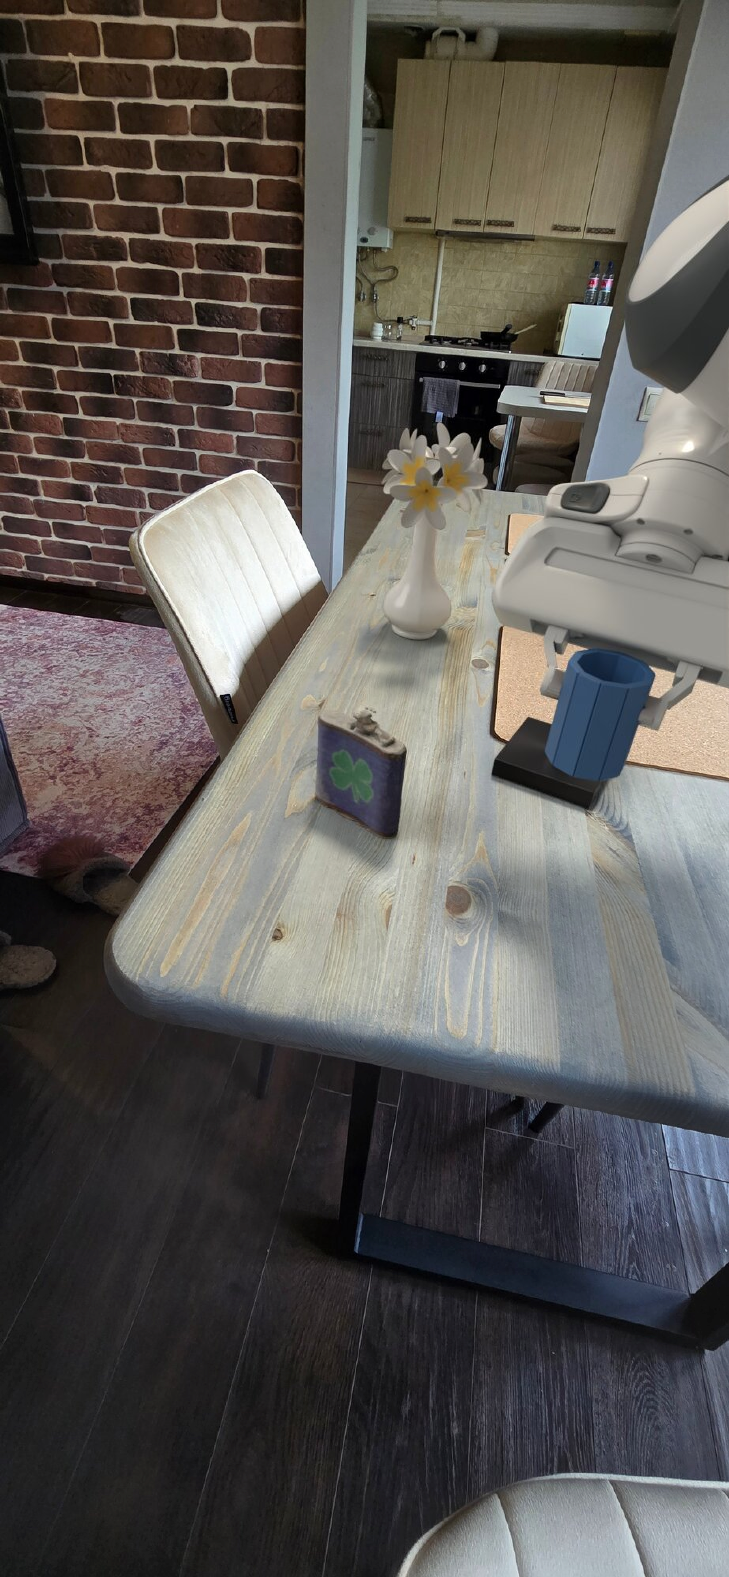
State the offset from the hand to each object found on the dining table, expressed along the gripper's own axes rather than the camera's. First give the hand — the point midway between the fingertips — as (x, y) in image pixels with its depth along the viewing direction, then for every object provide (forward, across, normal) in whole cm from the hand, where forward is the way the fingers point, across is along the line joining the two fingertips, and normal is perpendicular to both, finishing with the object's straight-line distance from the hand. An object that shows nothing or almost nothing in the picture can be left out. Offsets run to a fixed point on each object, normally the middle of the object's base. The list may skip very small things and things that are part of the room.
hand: (596, 710), depth 51 cm
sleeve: (+3, 0, -4) cm, 4 cm away
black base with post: (0, +5, -24) cm, 24 cm away
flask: (+12, +18, -12) cm, 25 cm away
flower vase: (-15, +31, -39) cm, 52 cm away
